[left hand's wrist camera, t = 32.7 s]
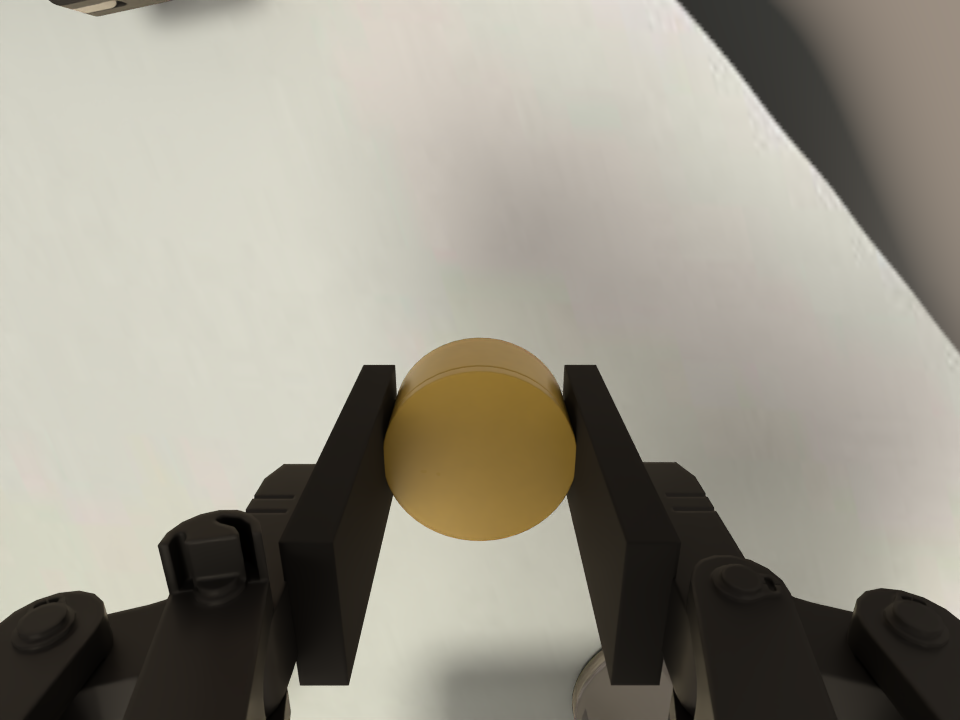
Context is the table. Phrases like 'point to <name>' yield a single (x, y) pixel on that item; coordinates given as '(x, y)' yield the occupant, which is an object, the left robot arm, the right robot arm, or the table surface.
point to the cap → (479, 441)
